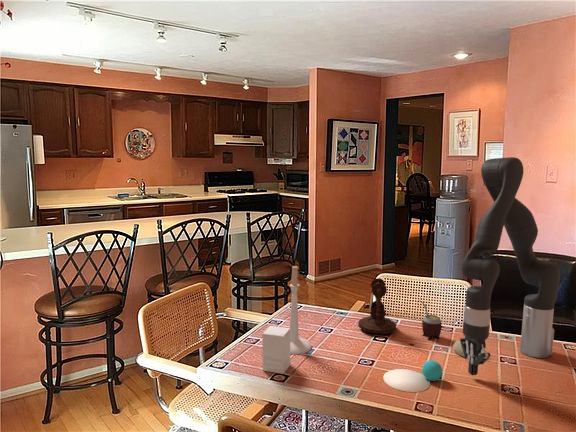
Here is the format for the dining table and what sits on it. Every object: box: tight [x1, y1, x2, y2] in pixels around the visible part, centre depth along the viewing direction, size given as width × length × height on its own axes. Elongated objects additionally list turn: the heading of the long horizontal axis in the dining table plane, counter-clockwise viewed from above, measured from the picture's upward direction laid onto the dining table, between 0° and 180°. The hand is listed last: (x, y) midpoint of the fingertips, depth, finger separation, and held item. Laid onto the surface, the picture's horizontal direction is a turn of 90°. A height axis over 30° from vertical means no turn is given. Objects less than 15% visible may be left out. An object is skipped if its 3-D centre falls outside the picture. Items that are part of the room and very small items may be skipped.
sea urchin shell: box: [452, 339, 466, 358], centre depth 163 cm, size 9×8×8 cm
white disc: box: [383, 368, 431, 393], centre depth 143 cm, size 14×14×1 cm
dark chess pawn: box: [357, 277, 397, 336], centre depth 183 cm, size 15×15×20 cm
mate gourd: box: [419, 300, 443, 341], centre depth 176 cm, size 8×8×15 cm
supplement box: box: [262, 325, 291, 375], centre depth 150 cm, size 7×7×13 cm
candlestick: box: [289, 265, 312, 355], centre depth 165 cm, size 13×13×30 cm
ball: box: [421, 360, 443, 382], centre depth 144 cm, size 6×6×6 cm
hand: (472, 373), depth 145 cm, fingers closed
